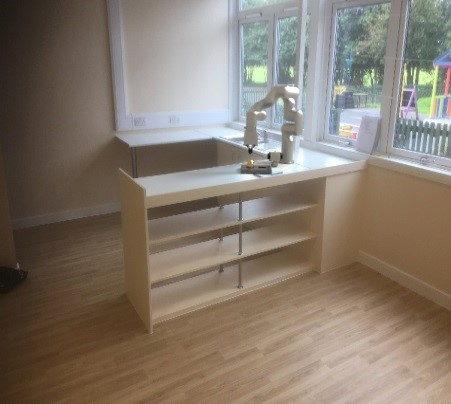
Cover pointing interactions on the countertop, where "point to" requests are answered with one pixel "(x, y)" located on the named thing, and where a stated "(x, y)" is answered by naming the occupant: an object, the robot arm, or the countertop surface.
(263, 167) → the jig
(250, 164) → the bushing
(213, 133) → the countertop surface
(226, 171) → the countertop surface
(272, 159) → the pneumatic valve
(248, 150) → the robot arm
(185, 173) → the countertop surface
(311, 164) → the countertop surface
